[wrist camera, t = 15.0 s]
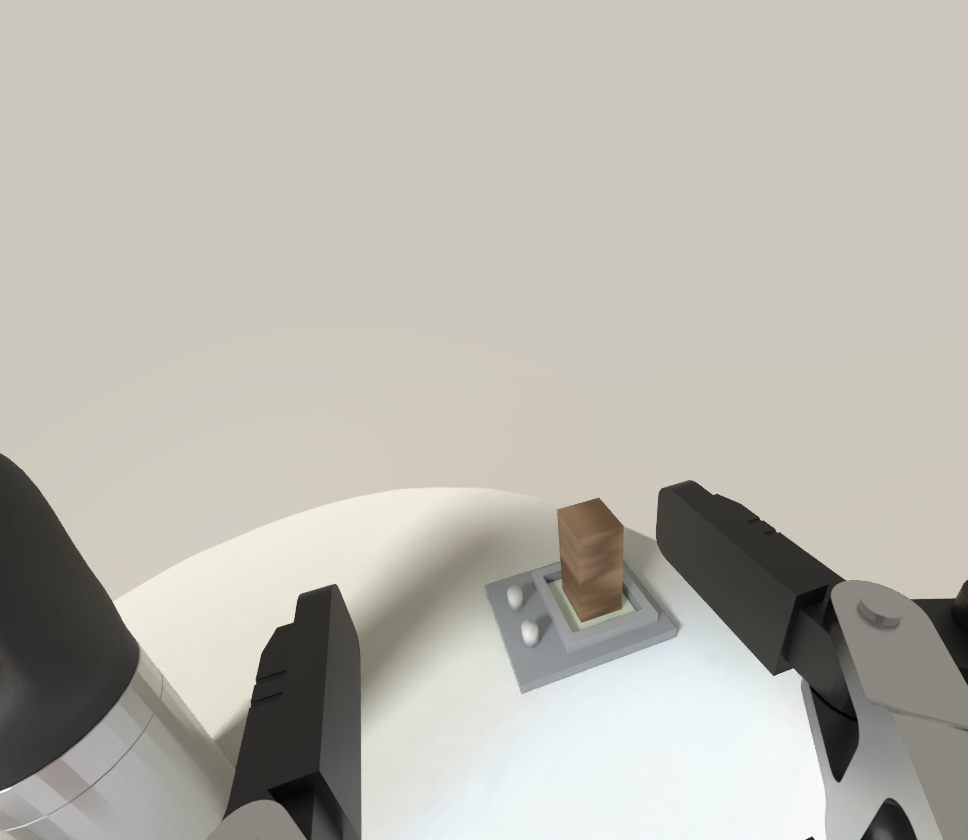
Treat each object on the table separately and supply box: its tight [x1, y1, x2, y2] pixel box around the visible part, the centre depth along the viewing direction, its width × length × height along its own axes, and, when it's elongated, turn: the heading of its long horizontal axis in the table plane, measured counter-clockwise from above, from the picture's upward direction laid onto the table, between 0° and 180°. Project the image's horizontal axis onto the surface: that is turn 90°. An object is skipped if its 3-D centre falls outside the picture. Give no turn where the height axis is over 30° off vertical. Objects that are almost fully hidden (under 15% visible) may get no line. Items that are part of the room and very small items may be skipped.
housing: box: [485, 561, 677, 694], centre depth 44 cm, size 16×12×3 cm
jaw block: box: [557, 498, 623, 623], centre depth 42 cm, size 4×4×11 cm
